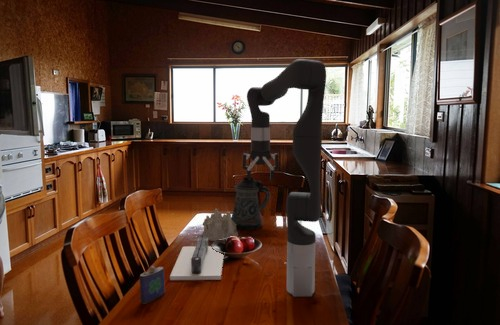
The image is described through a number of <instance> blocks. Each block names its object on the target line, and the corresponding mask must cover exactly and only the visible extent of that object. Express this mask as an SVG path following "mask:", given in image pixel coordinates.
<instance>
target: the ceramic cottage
mask: <svg viewBox="0 0 500 325" xmlns="http://www.w3.org/2000/svg"><path fill="white" fill-rule="evenodd" d="M231 217H232V214H231V212H230V211H226V213H223V214H222V212H220V211H219V210H218V208H215V209H214V213H211V214H210V215H206V217H205V218H204V219H203V223H202V227H203V231H202V237H207V238H208V241H212V242H217V241H216V240H219V239H223V238H227V237H230V236H238V237H239V232H238V231H237V228H236V224H235V223H234V222H233V221H232V219H231Z"/></svg>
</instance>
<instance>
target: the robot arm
mask: <svg viewBox="0 0 500 325" xmlns="http://www.w3.org/2000/svg"><path fill="white" fill-rule="evenodd" d="M326 82H327V69H326V66H325V64H324V62H322V61H321V60H314V59H309V58H308V59H305V58H299V59H298V58H297V59H295V60H293V61H291V63H290V64H288V65H287V67H285V68H284V69H283V70H282V71H281V73H279V75H277V76H276V77H275V78H273V79H271V80H269V81H267V82H266V83H264V84H263V86H262V87H260V86H259V87H258V86H255V87H252V86H251V88H249V89H248V91H247V94H246V100H247V105H248V108H249V112H250V117H251V129H250V130H251V131H250V154H249V153H243V155H242V170H246V178H248V179H249V180H251V178H252V177H251V176H252V174H251V173H252V172H251V171H252V168H253V167H254V166H255V165H256V166H260V165H261V166H266V165H267V167H269V169H270V170H269V174H270V176H269V181H273V179H275V178H274V177H275V171H276V170H279V169H280V167H279V166H280V164H279V154H278V153H276V152H275V153H271V130H270V129H271V128H270V127H271V126H270V121H271V120H270V114H269V113H268V112H266V111H262V110H261V109H260V107H262V106H263V107H265V106H266V107H267V106H271V105H273V104H274V103H275V101H277V100H279V99H281V98H283V97H285V96H286V94H288V91H289V89H294V88H295V89H298V90H307V101H306V105H305V108H304V110H303V112H302V114H301V115H300V117H299V119H298V120H297V122H296V123H295V126H294V128H293V131H292V153H293V156H294V158H295V160H296V162H297V164H298V166H300V168H301V170H302V171H303V173H304V175H305V178H306V179H307V182H308V185H309V191H310V192H301V191H291V192H289V193H288V195H287V197H286V205H285V206H286V230H287V231H286V243H287V244H286V291H287V293H289V294H290V295H292V297H312V296H313V294H314V293H315V286H316V282H315V281H316V280H315V277H316V276H315V275H316V241H317V240H316V233H315V232H314V231H313V230H312V229H310V228H308V227H305V226H304V225H303V224H301V223H300V222H308V223H310V222H312V223H315V222H318V221H319V220H320V216H321V212H322V204H321V203H322V196H321V194H322V192H321V163H322V162H321V161H322V160H321V159H322V144H323V132H322V131H323V108H324V99H325V93H326ZM249 158H250V159H251V162H250V163H249V165H248V166H247V160H249ZM271 158H272V159H273V160H274V166H273V165H272V164H271V162H270V160H271Z"/></svg>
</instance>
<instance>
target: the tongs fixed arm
mask: <svg viewBox="0 0 500 325" xmlns="http://www.w3.org/2000/svg"><path fill="white" fill-rule="evenodd" d="M202 237H203V236H202ZM208 246H209V240H208V238H207V237H203V240H202V244H201V247H200V250H199V253H198V257H193V258H191V272H192V273H193V274H199V273H201V271H202V267H203V263H204V259H205V255H206V251H207V250H208Z"/></svg>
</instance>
